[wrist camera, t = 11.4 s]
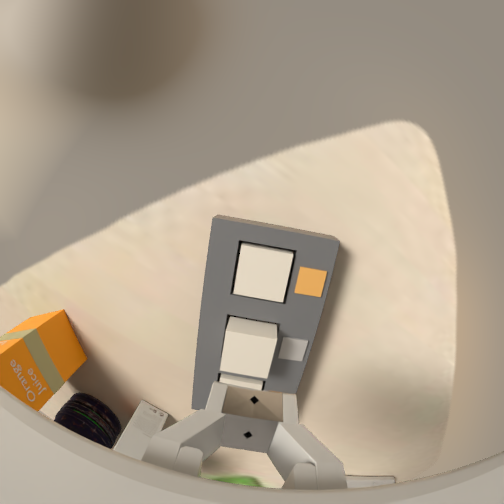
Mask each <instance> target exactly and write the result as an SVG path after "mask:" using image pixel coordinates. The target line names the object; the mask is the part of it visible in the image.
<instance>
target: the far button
mask: <svg viewBox="0 0 504 504" xmlns="http://www.w3.org/2000/svg"><path fill="white" fill-rule="evenodd" d="M220 382H222V383H226V384H232V385H237V386H241V387H247V388H252V389H257V390H261V389H262V385H263V381H262V380H256V379H250V378H244V377H238V376H233V375H227V374H222V373H221V376H220Z"/></svg>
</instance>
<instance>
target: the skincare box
mask: <svg viewBox="0 0 504 504" xmlns="http://www.w3.org/2000/svg"><path fill="white" fill-rule="evenodd" d="M167 417H168V414H167V413H165V412H164V411H162V410H160V409H158V408H156V407H154V406H152V405H151V404H149V403H147V402H146V401H144V400H142V401H141V402H140V404H139V406H138V407H137V409H136V411H135V413H134V414H133V416H132V418H131V419H130V421H129V423H128V424H127V426H126V428H125V430H124V431H123V433H122V435H121V437H120V438H119V440H118V442H117V444H116V445H115V447H114V449H113V450H114V451H116V452H119V453H122V454H124V455H127V456H129V457H132V458H135V459H138V460H141V459H142V457H143V455H144V453H145V451H146V449H147V447H148V445H149V442H150V440H151V438H152V436H153V435H155V434H157V433H159V432H160V431H162V429H163V426H164V424H165V422H166V420H167Z"/></svg>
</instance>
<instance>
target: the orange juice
mask: <svg viewBox="0 0 504 504" xmlns="http://www.w3.org/2000/svg"><path fill="white" fill-rule="evenodd" d="M86 360H87V357H86V355H85V353H84V351H83V349H82V348H81V346H80V344H79V342H78V340H77V337H76V335H75V333H74V331H73V329H72V327H71V325H70V323H69V320H68V318H67V316H66V313H65V311H64V310H59V311H55V312H51V313H47V314H43V315H38V316H34V317H30V318H29V319H27V320H26V321H24V322H23V323H21V324H19V325H18V326H16V327H15V328H13V329H12V330H10V331H9V332H7V333H6V334H4V335H2V336H1V337H0V386H1V387H3V388H4V389H5V390H7V391H8V392H9V393H11V394H12V395H14V396H15V397H16V398H18V399H19V400H21V401H22V402H24V403H25V404H27V405H28V406H30V407H31V408H33V409H34V410H36V411H39V410H40V409H41V408H42V407H43V405H44V404H45V403H46V402H47V401H48V400H49V399H50V398H51V397H52V396H53V395H54V394H55V393H56V392H57V391H58V390H59V389H60V388H61V387H62V386H63V384H64V383H65V382H66V381H67V380H68V379H69V378H70V376H71V375H72V374H73V373H74V372H75V371H76V370H77V369H78V368H79V367H80V366H81V365H82V364H83V363H84V362H85V361H86Z"/></svg>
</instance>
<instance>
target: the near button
mask: <svg viewBox="0 0 504 504" xmlns="http://www.w3.org/2000/svg"><path fill="white" fill-rule="evenodd" d="M292 258H293V252H292V250H291V249H286V248H280V247H275V246H269V245H264V244H258V243H253V242H247V241H243V243H242V245H241V250H240V256H239V262H238V268H237V274H236V281H235V287H234V293H233V294H238V295H243V296H249V297H254V298H260V299H266V300H271V301H277V302H283V299H284V295H285V291H286V286H287V282H288V277H289V272H290V268H291V263H292Z"/></svg>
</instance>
